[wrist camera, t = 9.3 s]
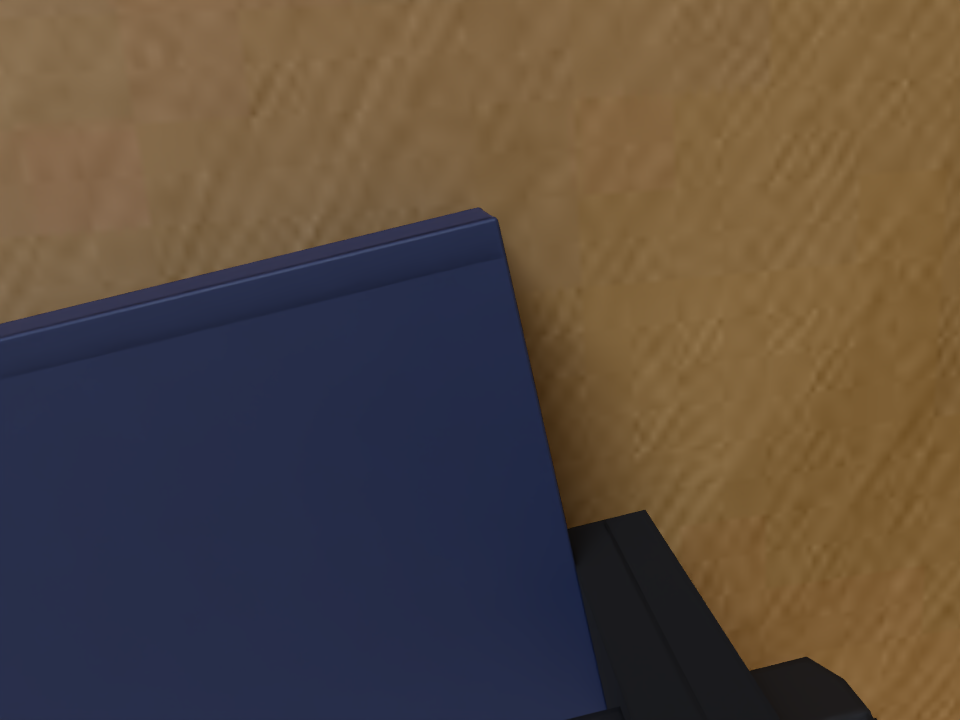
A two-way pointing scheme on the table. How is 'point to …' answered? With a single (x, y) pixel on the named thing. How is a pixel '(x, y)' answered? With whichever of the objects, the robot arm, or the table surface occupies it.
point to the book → (289, 497)
